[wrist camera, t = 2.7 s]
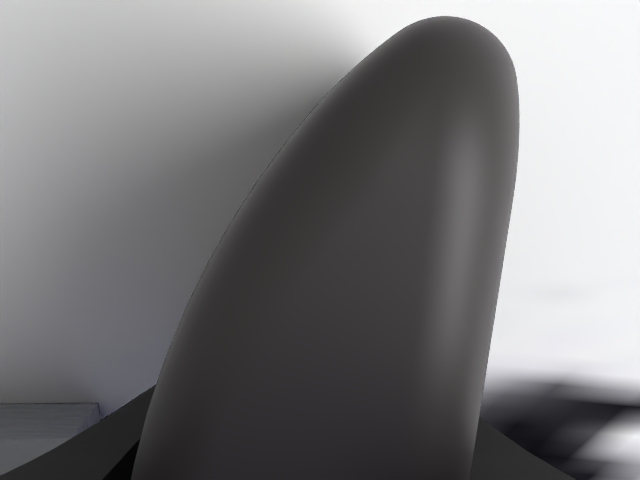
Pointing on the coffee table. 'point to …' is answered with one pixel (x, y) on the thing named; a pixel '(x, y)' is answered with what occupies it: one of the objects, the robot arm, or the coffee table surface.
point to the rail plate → (40, 429)
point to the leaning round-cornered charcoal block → (354, 282)
